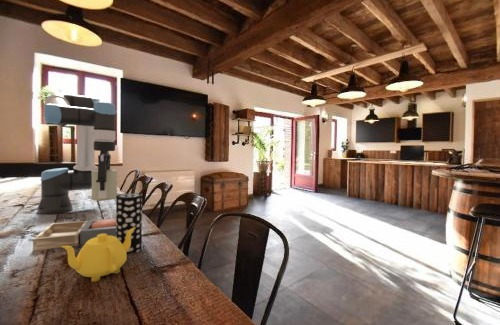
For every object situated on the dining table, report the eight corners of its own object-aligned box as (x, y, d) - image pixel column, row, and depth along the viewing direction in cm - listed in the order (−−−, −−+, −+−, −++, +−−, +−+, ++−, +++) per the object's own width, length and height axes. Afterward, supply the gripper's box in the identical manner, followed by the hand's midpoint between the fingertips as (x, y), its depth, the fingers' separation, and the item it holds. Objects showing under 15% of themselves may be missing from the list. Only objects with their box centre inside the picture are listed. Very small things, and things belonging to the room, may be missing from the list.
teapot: (72, 300, 57) (72, 254, 57) (52, 278, 66) (52, 238, 65) (149, 268, 74) (149, 232, 73) (125, 254, 82) (125, 222, 82)
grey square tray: (88, 231, 102) (88, 220, 101) (124, 228, 108) (124, 217, 107) (80, 244, 89) (80, 231, 89) (122, 239, 95) (122, 227, 95)
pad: (93, 226, 100) (93, 220, 100) (118, 224, 104) (118, 218, 104) (89, 233, 92) (89, 227, 92) (115, 231, 96) (115, 225, 96)
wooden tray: (51, 232, 99) (51, 223, 99) (88, 229, 104) (88, 220, 104) (33, 250, 83) (32, 239, 82) (78, 245, 88) (77, 234, 88)
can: (105, 201, 92) (105, 171, 91) (85, 199, 94) (85, 169, 93) (122, 196, 101) (122, 169, 100) (104, 194, 103) (104, 167, 102)
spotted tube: (146, 247, 89) (147, 194, 87) (128, 256, 81) (129, 198, 80) (129, 243, 91) (129, 192, 90) (110, 252, 83) (110, 196, 82)
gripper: (98, 140, 104) (98, 191, 106) (87, 140, 85) (88, 202, 86) (117, 141, 107) (117, 190, 109) (112, 141, 88) (111, 201, 89)
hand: (104, 195), depth 98 cm, fingers closed on can, 9 cm apart
